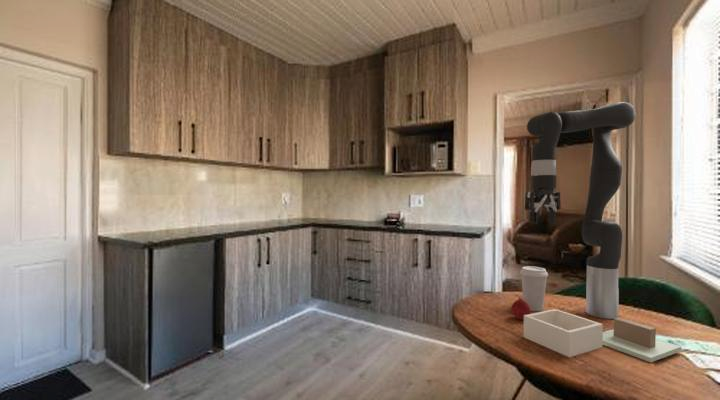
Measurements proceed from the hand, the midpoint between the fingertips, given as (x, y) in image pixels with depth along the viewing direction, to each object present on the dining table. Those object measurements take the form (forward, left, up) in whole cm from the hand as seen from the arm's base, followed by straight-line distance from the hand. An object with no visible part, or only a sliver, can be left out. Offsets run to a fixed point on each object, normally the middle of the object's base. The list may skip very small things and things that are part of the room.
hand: (542, 223), depth 116 cm
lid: (-6, +24, -32) cm, 41 cm away
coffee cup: (-10, -11, -33) cm, 36 cm away
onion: (+5, -4, -33) cm, 34 cm away
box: (+10, +14, -33) cm, 37 cm away
